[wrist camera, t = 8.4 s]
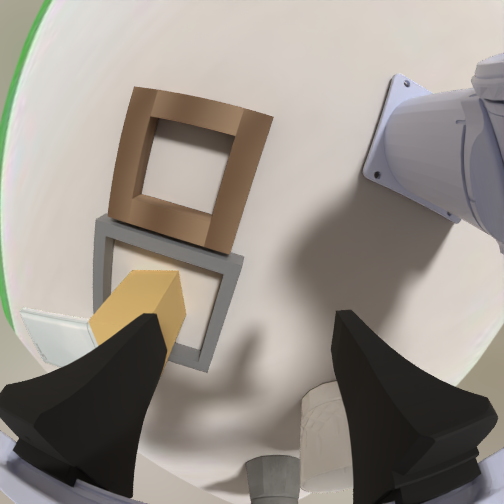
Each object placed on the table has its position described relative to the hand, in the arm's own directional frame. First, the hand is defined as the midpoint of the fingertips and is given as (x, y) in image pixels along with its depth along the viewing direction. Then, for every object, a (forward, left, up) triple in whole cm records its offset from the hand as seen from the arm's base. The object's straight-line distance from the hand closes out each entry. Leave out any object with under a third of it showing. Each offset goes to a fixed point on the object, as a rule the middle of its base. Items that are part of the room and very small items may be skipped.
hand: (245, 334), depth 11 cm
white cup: (-13, +14, -10) cm, 21 cm away
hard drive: (+16, +18, -10) cm, 26 cm away
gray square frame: (+6, +7, -9) cm, 13 cm away
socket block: (+6, -4, -9) cm, 12 cm away
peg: (+6, +6, -10) cm, 13 cm away
